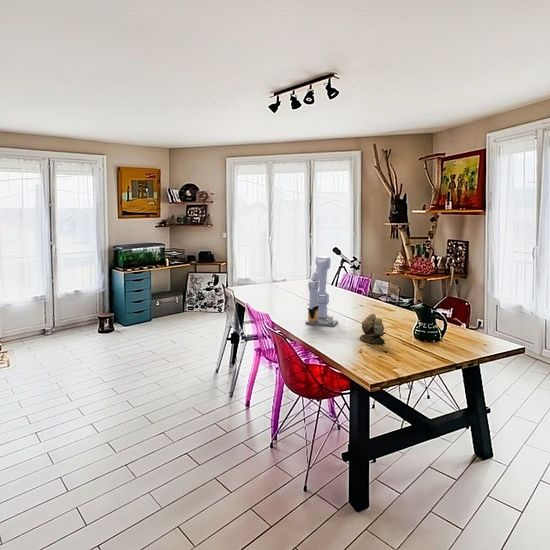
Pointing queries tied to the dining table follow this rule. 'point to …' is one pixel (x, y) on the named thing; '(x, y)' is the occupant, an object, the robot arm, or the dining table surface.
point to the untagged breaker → (330, 319)
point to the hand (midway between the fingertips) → (313, 317)
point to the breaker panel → (321, 322)
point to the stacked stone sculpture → (372, 330)
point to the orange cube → (314, 316)
